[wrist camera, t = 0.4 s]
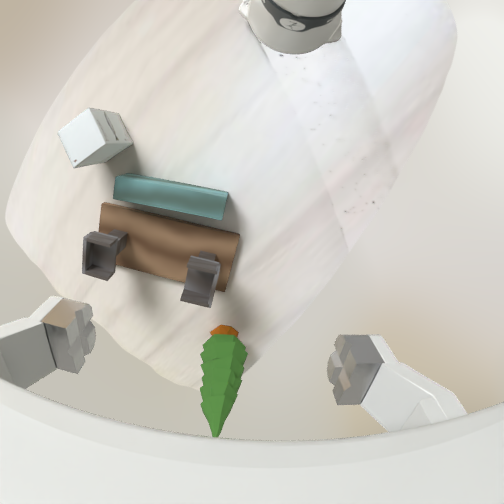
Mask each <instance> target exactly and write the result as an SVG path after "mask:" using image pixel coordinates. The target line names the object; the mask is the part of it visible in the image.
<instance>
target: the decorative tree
mask: <svg viewBox="0 0 504 504" xmlns="http://www.w3.org/2000/svg"><path fill="white" fill-rule="evenodd" d="M210 333H211V335H212V337H211V338H210V339H209V340H208V341H206V342H205V343H204V344H203V348H204V351H203V352H202V353H201V354H200V355H201V358H202V360H203V364H201V367H202V370H203V372H204V376H203V377H202V381H203V385H204V386H202V387H201V388H200V391H201V395H202V399H203V402H202V403H201V407H202V410H203V413H204V415H205V417H206V419H207V420H208V422H209V425H210V429H211V431H212V436H213V437H218V436H219V435H220V433H221V430H222V427H223V424H224V422H225V420H226V418H227V416H228V415H229V413H230V411H231V408H232V406H233V404H234V402H235V400H236V397H237V392H238V389H239V387H240V384H241V382H242V380H241V376H242V373H243V370H244V367H243V365H244V362H245V360H246V357H247V355H248V353H247V352H246V351H245V348H246V347H245V346H244V345H243V344H242V343H241V341H240V340H239V339H238V338H237V336H238V333H239V332H237V331H236V330H235V329H234V328H232V327H231V326H225V325H220V326H218V327H217V328H215V329H214V330H213V331H211V332H210Z"/></svg>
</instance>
